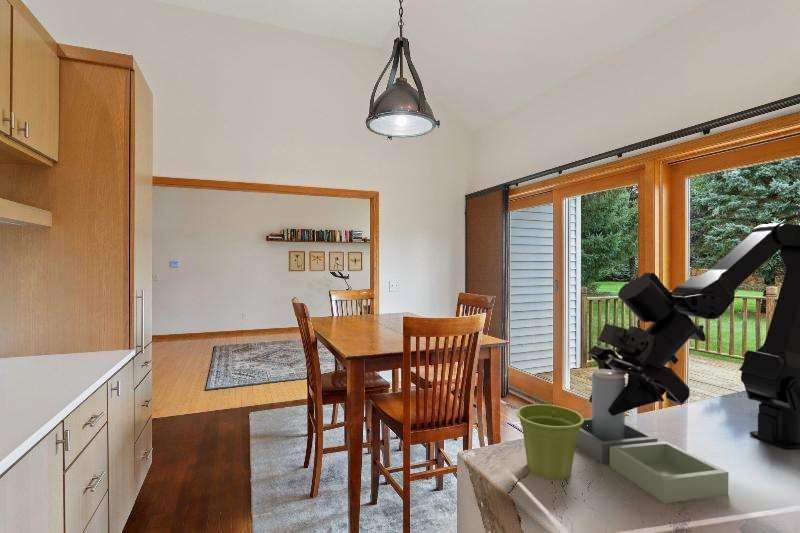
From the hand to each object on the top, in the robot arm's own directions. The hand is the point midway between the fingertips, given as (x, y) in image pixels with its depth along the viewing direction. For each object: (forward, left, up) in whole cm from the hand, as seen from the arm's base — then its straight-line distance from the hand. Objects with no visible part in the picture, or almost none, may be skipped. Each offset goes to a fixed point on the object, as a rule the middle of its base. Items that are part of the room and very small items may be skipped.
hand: (600, 407), depth 71 cm
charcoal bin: (-1, 0, -7) cm, 7 cm away
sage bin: (-2, +11, -7) cm, 13 cm away
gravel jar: (-1, 0, -7) cm, 7 cm away
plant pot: (+13, +5, -7) cm, 15 cm away
